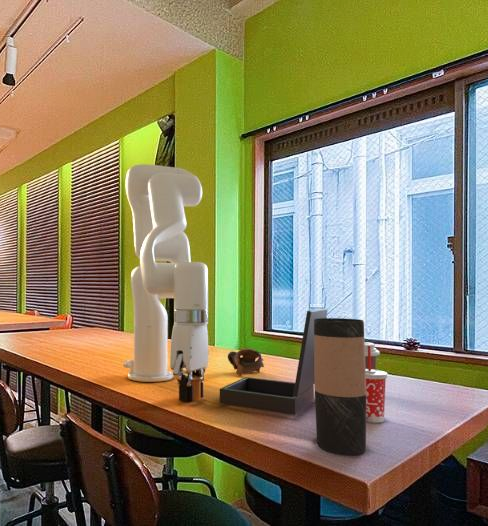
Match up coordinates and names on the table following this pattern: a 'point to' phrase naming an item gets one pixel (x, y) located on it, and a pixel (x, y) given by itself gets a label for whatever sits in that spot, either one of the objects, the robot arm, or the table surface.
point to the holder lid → (307, 353)
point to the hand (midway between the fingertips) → (191, 401)
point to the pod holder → (265, 395)
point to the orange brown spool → (196, 387)
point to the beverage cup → (375, 392)
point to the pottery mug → (245, 361)
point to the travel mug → (340, 385)
